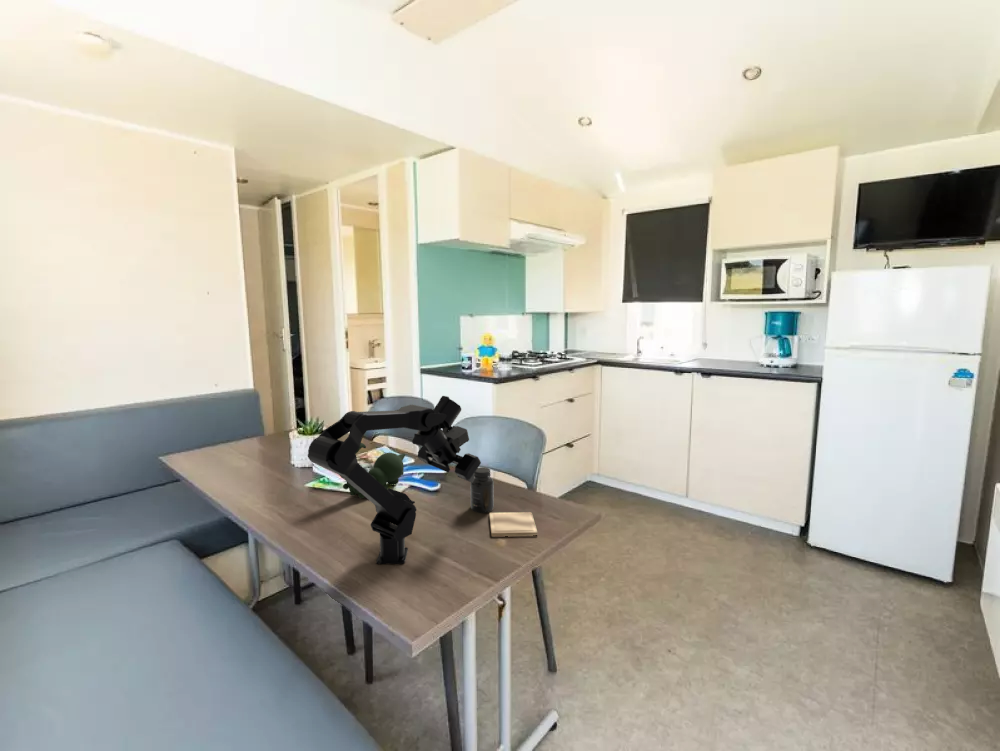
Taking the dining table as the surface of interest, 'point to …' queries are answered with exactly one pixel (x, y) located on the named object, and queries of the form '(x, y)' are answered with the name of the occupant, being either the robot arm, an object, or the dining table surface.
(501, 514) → the coaster
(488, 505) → the supplement bottle
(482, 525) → the dining table surface
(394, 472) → the toy figurine
